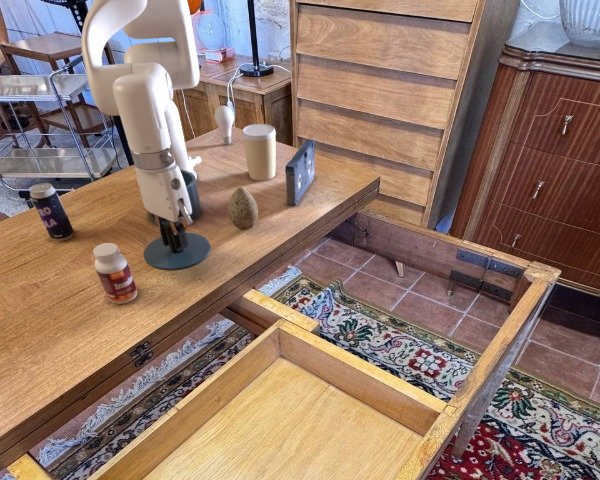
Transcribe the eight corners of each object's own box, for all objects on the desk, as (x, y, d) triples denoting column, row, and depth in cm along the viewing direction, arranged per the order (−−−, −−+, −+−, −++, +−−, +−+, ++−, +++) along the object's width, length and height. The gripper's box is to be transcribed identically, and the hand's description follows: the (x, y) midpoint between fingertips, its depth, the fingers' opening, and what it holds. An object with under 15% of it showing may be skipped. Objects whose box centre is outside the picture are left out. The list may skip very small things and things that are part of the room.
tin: (176, 196, 122) (169, 164, 116) (212, 210, 117) (206, 177, 110) (138, 217, 115) (128, 184, 109) (174, 232, 110) (165, 199, 103)
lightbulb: (240, 145, 144) (235, 107, 136) (222, 149, 143) (217, 110, 134) (232, 139, 148) (227, 101, 139) (215, 143, 146) (209, 105, 138)
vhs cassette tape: (306, 176, 129) (306, 138, 121) (316, 177, 128) (316, 139, 121) (285, 205, 118) (283, 166, 110) (295, 206, 117) (294, 167, 110)
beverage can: (51, 232, 111) (27, 184, 102) (74, 228, 112) (53, 180, 103) (51, 244, 108) (27, 195, 98) (75, 239, 109) (53, 190, 100)
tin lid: (179, 230, 105) (172, 200, 99) (224, 249, 99) (219, 219, 93) (131, 258, 97) (120, 228, 92) (176, 281, 92) (168, 250, 86)
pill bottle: (124, 308, 91) (105, 261, 83) (102, 299, 93) (81, 253, 85) (144, 292, 95) (128, 245, 86) (122, 284, 97) (104, 237, 88)
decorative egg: (237, 238, 108) (231, 197, 100) (226, 225, 112) (220, 185, 104) (263, 230, 110) (260, 190, 102) (252, 218, 114) (248, 178, 106)
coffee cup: (280, 168, 133) (278, 123, 123) (275, 182, 127) (272, 136, 118) (250, 167, 134) (245, 122, 124) (243, 181, 128) (238, 135, 119)
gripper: (198, 159, 81) (215, 249, 95) (140, 140, 88) (163, 227, 102) (168, 174, 77) (190, 266, 91) (109, 153, 84) (138, 242, 98)
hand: (176, 245), depth 96 cm, fingers closed on tin lid, 3 cm apart
